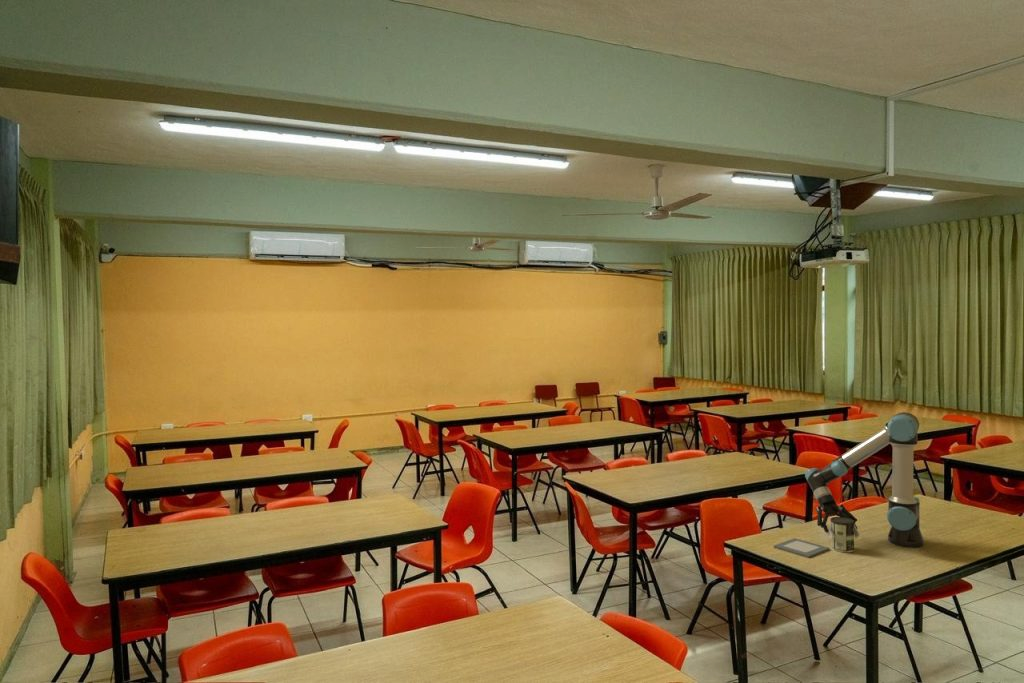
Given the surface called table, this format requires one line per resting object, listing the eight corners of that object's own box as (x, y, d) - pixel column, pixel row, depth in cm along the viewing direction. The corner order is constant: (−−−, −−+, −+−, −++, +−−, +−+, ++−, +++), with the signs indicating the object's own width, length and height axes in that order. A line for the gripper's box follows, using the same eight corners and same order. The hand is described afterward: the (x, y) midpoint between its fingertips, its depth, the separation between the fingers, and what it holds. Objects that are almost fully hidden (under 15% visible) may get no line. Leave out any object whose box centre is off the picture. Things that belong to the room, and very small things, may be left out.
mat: (829, 549, 317) (829, 547, 317) (808, 558, 307) (808, 555, 307) (794, 540, 332) (794, 537, 332) (773, 547, 321) (773, 545, 321)
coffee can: (850, 545, 322) (850, 517, 322) (857, 553, 312) (857, 523, 312) (827, 544, 324) (827, 516, 324) (833, 552, 314) (833, 522, 314)
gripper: (843, 500, 335) (864, 539, 321) (798, 503, 331) (818, 542, 316) (850, 492, 330) (872, 531, 316) (805, 495, 325) (825, 535, 311)
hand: (845, 537), depth 316 cm, fingers open, 13 cm apart
